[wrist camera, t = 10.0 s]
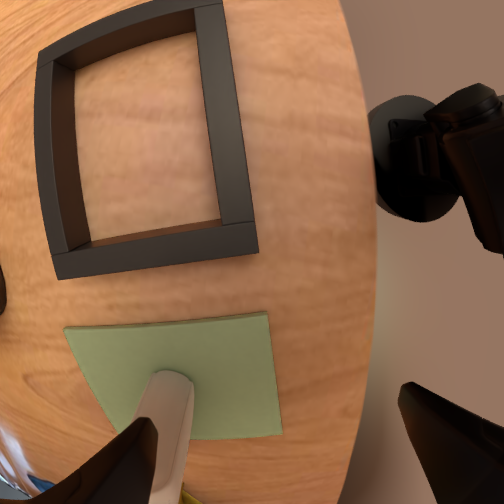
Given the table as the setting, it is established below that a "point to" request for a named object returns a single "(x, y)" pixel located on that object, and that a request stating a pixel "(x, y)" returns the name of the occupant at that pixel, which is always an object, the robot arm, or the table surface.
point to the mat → (187, 370)
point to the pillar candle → (2, 294)
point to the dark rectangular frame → (65, 153)
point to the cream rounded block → (168, 430)
